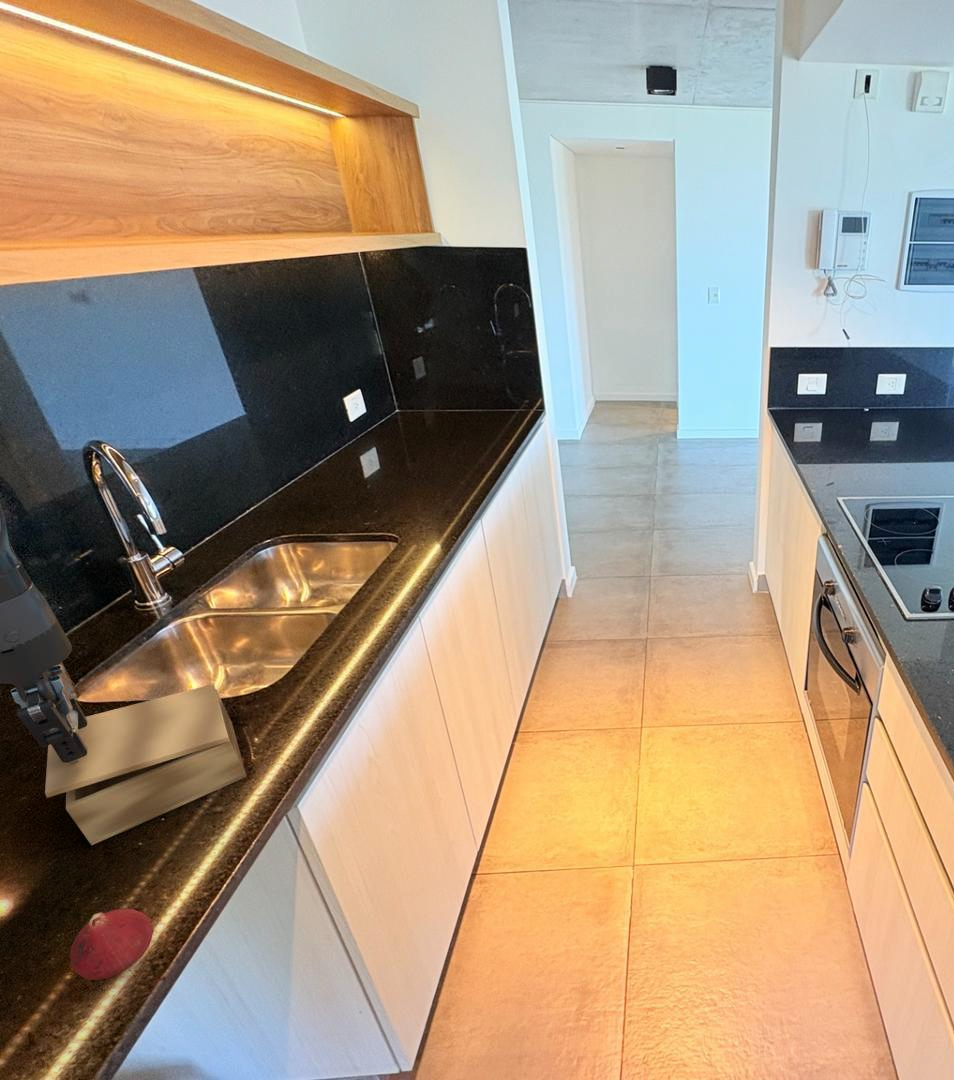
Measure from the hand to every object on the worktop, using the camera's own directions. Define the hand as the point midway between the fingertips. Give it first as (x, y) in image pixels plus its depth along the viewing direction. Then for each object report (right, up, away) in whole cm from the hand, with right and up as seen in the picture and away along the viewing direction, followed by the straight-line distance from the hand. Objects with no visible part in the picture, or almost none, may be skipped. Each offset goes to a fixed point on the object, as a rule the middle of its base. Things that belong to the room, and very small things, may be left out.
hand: (76, 742), depth 75 cm
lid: (+4, -1, +4) cm, 6 cm away
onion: (+18, -19, -12) cm, 29 cm away
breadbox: (+4, -8, +8) cm, 12 cm away
